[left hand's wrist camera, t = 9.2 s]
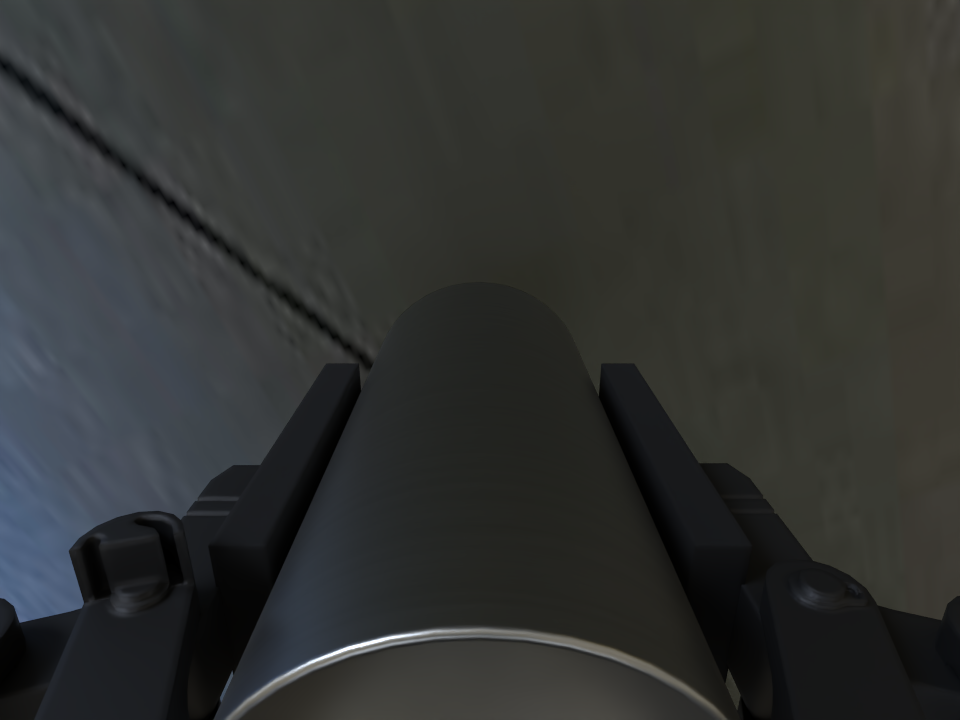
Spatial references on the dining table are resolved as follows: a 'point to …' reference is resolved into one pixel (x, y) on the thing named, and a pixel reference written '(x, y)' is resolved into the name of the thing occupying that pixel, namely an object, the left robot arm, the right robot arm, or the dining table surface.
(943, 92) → the dining table surface
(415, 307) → the tin
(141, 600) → the left robot arm
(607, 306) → the dining table surface
